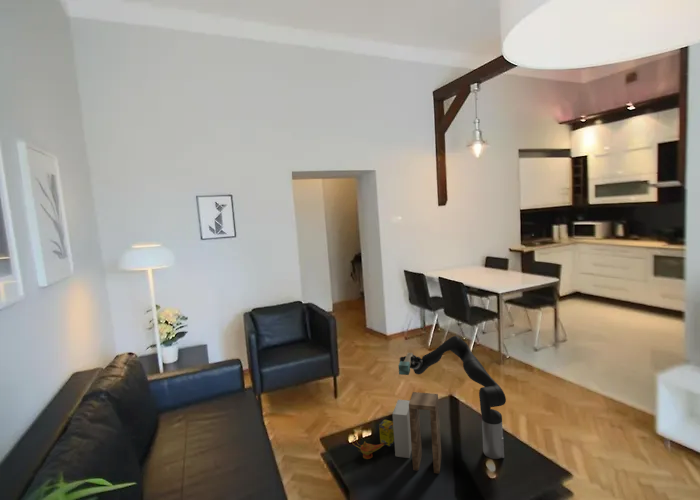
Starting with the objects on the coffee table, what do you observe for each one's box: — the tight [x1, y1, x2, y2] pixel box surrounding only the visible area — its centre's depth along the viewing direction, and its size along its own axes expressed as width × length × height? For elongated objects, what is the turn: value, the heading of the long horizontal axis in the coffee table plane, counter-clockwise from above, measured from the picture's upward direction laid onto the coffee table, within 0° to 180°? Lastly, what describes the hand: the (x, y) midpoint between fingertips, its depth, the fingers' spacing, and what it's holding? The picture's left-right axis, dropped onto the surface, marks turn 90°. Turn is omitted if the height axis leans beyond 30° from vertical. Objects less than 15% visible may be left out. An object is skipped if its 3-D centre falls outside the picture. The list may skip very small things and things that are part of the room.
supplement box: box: [378, 419, 395, 448], centre depth 196 cm, size 6×6×11 cm
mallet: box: [398, 352, 414, 376], centre depth 204 cm, size 5×22×5 cm, turn 161°
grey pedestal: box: [392, 399, 412, 459], centre depth 190 cm, size 7×14×22 cm, turn 162°
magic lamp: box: [351, 434, 388, 460], centre depth 186 cm, size 7×18×11 cm, turn 83°
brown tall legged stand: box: [409, 391, 442, 474], centre depth 176 cm, size 12×12×32 cm
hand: (408, 358), depth 207 cm, fingers closed on mallet, 3 cm apart
